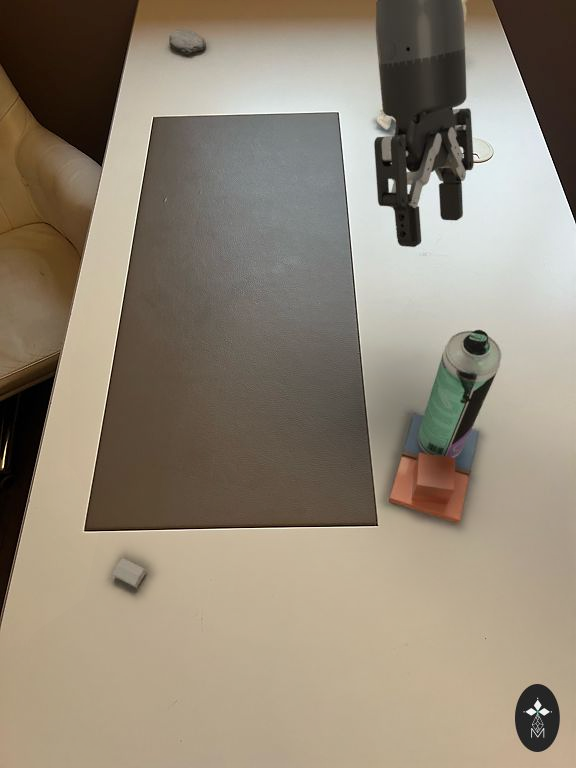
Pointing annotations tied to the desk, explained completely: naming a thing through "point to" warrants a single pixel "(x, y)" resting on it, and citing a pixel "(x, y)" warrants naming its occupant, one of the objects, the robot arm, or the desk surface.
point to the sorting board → (405, 476)
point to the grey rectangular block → (129, 572)
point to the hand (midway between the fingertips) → (431, 231)
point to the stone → (186, 41)
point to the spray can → (458, 392)
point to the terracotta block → (433, 478)
